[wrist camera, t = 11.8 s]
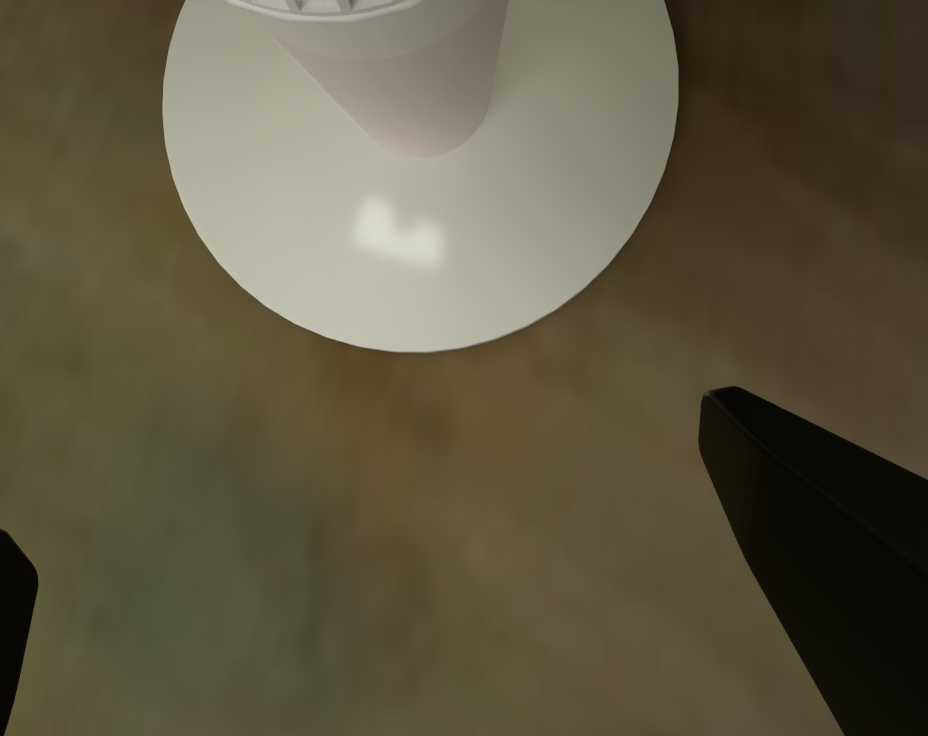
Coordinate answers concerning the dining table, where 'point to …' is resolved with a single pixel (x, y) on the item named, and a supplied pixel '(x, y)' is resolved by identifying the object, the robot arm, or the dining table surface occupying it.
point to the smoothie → (396, 63)
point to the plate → (423, 175)
